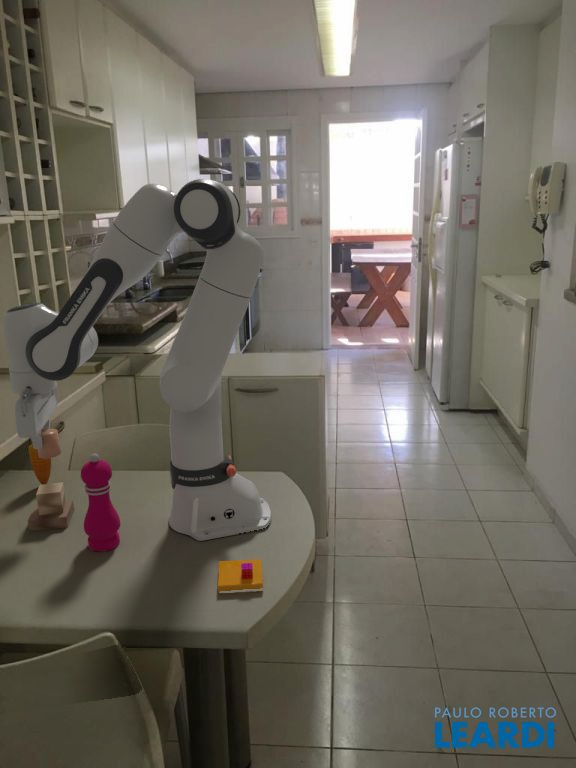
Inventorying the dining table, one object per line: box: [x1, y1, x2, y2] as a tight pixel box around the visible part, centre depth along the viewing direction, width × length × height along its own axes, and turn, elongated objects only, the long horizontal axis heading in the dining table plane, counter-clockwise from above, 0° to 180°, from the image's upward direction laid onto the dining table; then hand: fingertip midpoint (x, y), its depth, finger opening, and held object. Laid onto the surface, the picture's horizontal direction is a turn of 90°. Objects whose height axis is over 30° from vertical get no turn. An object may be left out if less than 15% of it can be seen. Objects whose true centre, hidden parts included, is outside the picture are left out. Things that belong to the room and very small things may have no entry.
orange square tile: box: [217, 558, 264, 592], centre depth 116 cm, size 8×8×4 cm
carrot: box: [27, 443, 52, 485], centre depth 155 cm, size 5×5×15 cm
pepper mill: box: [80, 453, 121, 552], centre depth 127 cm, size 7×7×20 cm
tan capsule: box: [38, 428, 62, 459], centre depth 136 cm, size 5×5×5 cm
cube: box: [35, 481, 67, 515], centre depth 139 cm, size 5×5×5 cm
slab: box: [27, 499, 75, 531], centre depth 140 cm, size 8×8×3 cm
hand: (42, 442), depth 135 cm, fingers closed on tan capsule, 4 cm apart
